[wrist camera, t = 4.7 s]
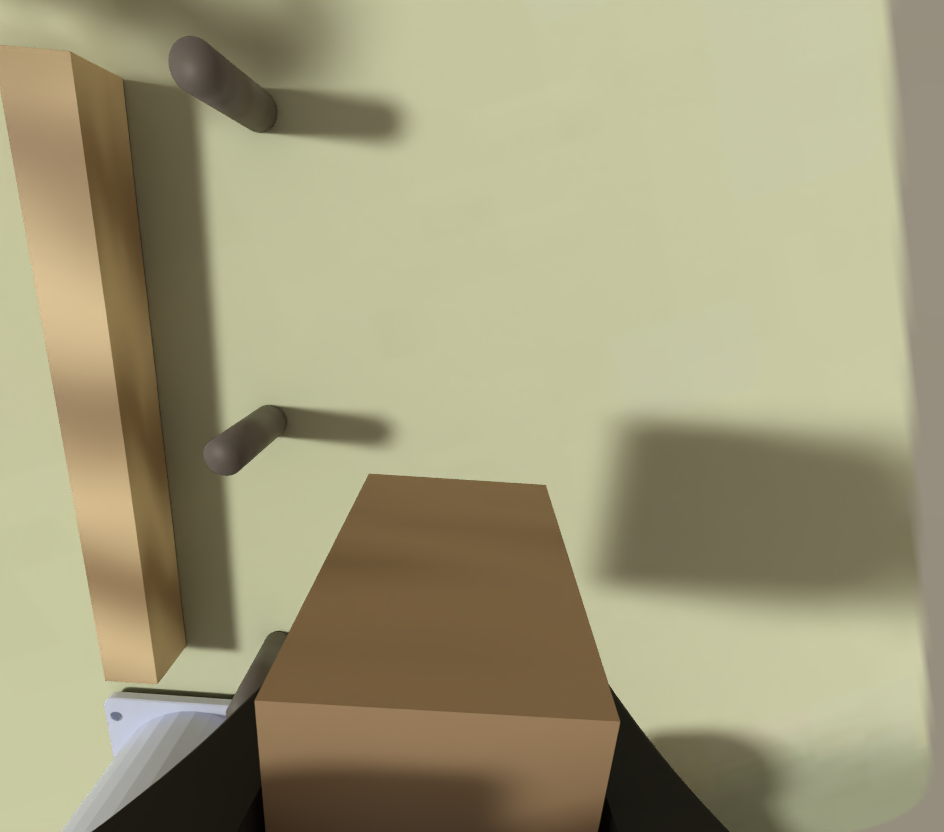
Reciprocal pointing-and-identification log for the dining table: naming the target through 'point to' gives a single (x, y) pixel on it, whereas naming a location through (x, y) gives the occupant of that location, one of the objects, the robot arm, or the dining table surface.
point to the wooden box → (439, 673)
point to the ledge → (116, 337)
